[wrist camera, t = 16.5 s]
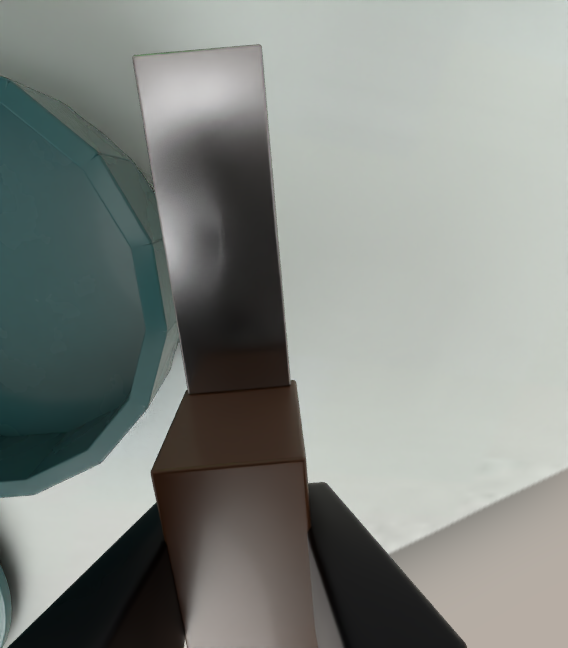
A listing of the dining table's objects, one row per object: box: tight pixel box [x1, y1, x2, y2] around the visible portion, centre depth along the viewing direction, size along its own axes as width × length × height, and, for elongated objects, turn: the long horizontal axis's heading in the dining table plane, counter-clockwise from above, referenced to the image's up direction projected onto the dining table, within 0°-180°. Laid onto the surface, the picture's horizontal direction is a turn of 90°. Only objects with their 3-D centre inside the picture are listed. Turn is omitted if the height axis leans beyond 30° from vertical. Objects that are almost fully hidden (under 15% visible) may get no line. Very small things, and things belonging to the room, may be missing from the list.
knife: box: [132, 44, 318, 648], centre depth 6 cm, size 9×2×2 cm, turn 5°
